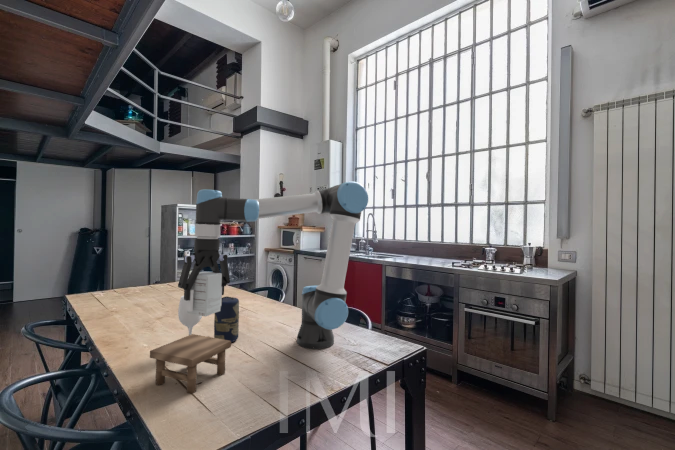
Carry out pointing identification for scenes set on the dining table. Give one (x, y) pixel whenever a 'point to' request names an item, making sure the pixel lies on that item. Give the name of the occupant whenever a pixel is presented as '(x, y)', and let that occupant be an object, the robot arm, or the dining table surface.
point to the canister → (227, 320)
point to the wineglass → (187, 316)
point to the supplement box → (206, 294)
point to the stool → (189, 357)
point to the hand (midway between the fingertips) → (204, 307)
